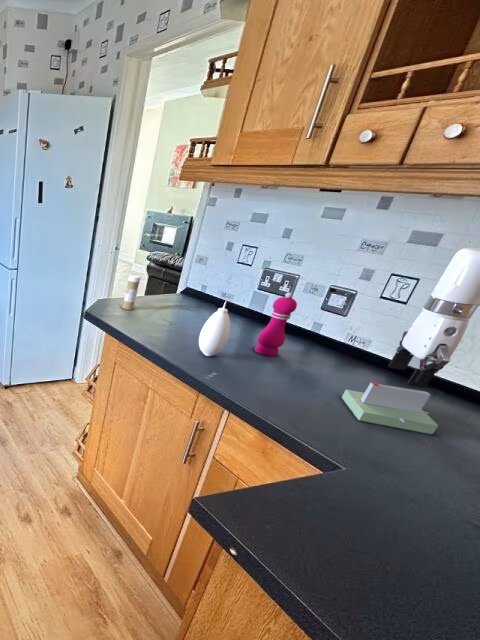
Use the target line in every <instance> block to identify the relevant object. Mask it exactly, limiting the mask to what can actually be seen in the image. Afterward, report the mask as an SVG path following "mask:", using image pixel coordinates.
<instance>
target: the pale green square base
mask: <svg viewBox="0 0 480 640" xmlns="http://www.w3.org/2000/svg"><path fill="white" fill-rule="evenodd" d="M364 393H365V392H363V391H356V390H350V389H345V390H344V393H343V394H342V396H341V399H342V400H343V401H344V403H345V404H346V405H347V407H348V409H350V411H351V412H352V413H353V415H354V416H355V418H356V419H357V420H358V421H360V422H364V423H370V424H376V425H381V426H385V427H392V428H397V429H402V430H407V431H413V432H418V433H424V434H428V435H433V434H434V433H435V431H436V430H437V429H438V427H439V424H438V423H436V422H435V421H434V420H433V419H432V418H431V417H430V416H429V414H430V412H428V411H424V410H423V408H422V409H421V411H420V412H419V413H418V412H412V411H407V410H401V409H396V408H390V407H384V406H379V405H373V404H368V403H363V402H362V401H361V398H362V397H363V395H364Z"/></svg>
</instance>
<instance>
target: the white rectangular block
mask: <svg viewBox="0 0 480 640" xmlns="http://www.w3.org/2000/svg"><path fill="white" fill-rule="evenodd" d="M363 393H364V395H363V397H362V398H361V401H362V402H363V403H368V404H373V405H379V406H384V407H390V408H396V409H401V410H407V411H412V412H418V413H419V412H420V411H421V409H422V410H423V408H424V406H425V405H426V403H427V401H428V400H429V399H430V398H431V396H432V394H430V393H429V392H427V391H425V390H418V389H413V388H412V389H411V388H406V387H401V386H394V385H388V384H381V383H378V382H375V381H372V382H369V384H368V385H367V388H366V390H365V391H364V392H363Z"/></svg>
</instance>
